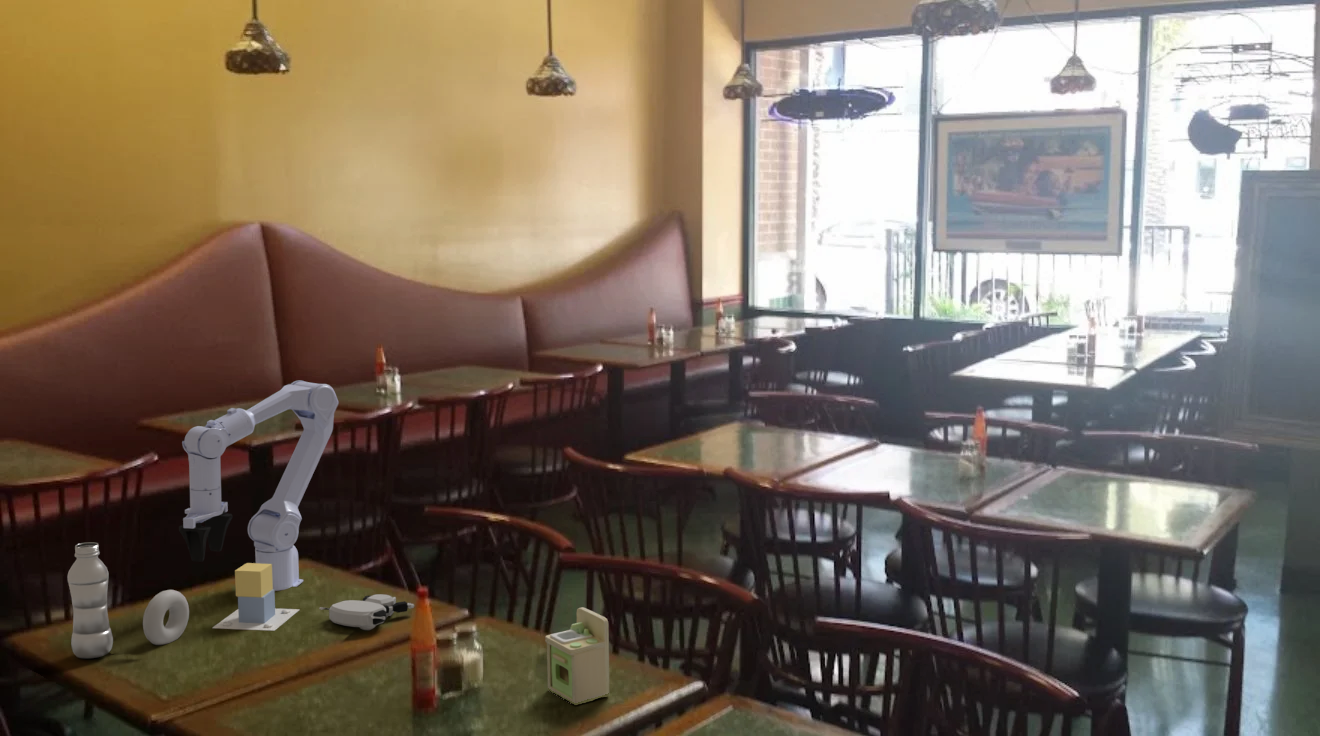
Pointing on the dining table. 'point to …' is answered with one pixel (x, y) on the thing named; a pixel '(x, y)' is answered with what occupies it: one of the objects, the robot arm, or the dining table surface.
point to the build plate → (270, 625)
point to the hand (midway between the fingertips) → (207, 555)
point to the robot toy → (366, 611)
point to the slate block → (256, 608)
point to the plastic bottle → (89, 603)
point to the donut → (156, 613)
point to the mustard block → (253, 580)
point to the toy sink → (580, 658)
